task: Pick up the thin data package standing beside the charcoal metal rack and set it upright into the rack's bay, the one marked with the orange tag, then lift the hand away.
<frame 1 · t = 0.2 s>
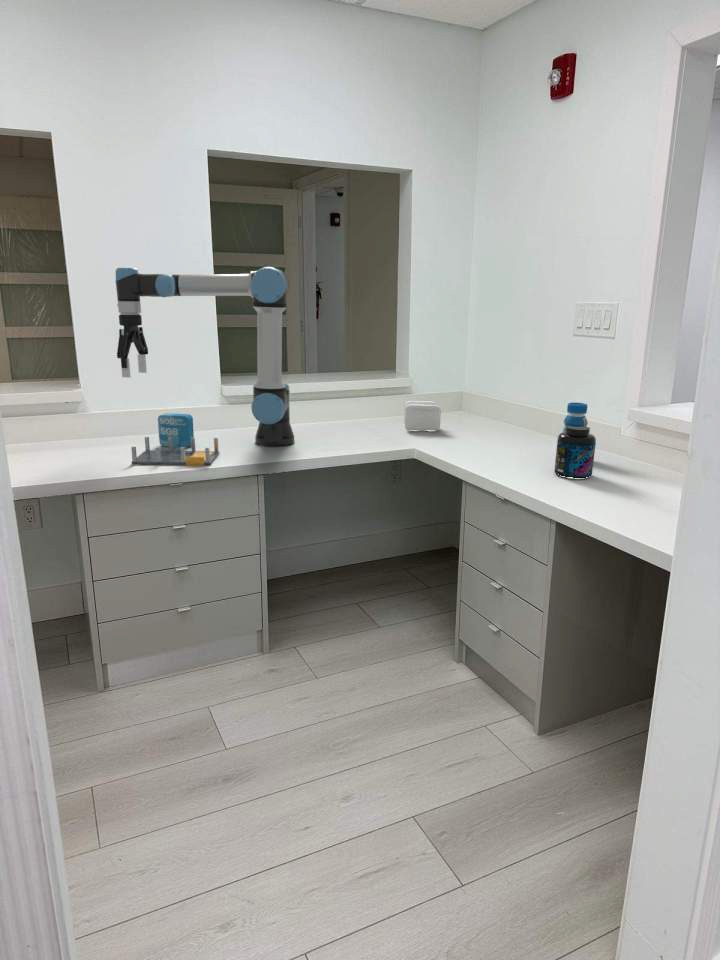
hand: (134, 374, 240), 27 cm above the table, tool pointing down, fingers open, 13 cm apart
beverage bottle: (571, 458, 243), on the table
data package: (177, 446, 252), on the table
panel rack: (177, 459, 233), on the table
cable organizer: (421, 430, 288), on the table
container: (572, 476, 221), on the table
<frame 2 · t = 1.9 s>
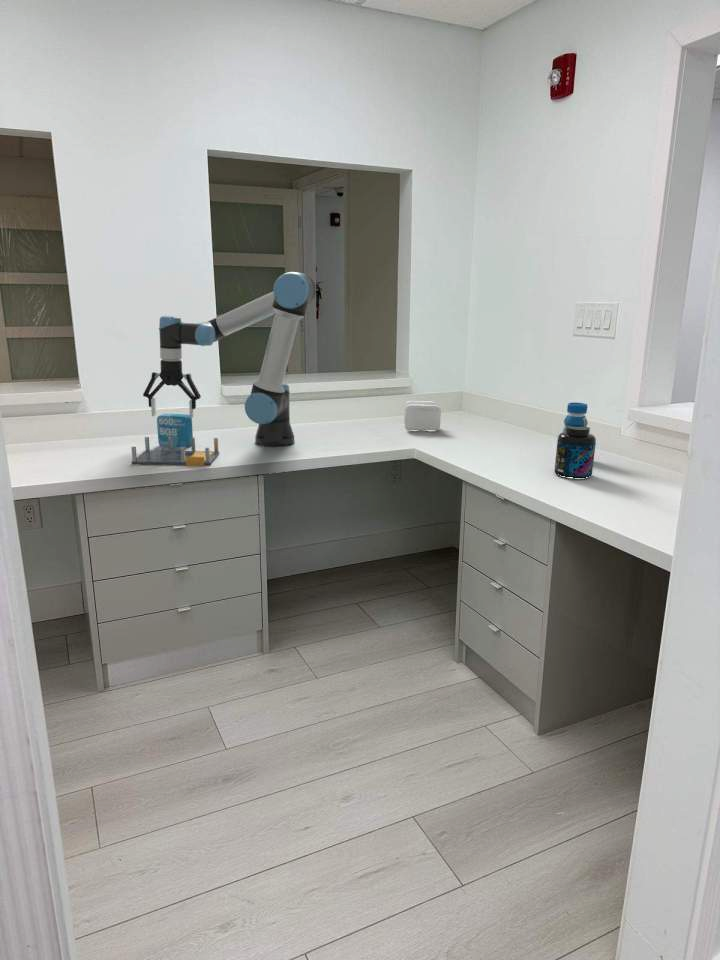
hand: (172, 417, 249), 11 cm above the table, tool pointing down, fingers open, 13 cm apart
data package: (176, 446, 253), on the table, touching gripper
everything else where it was.
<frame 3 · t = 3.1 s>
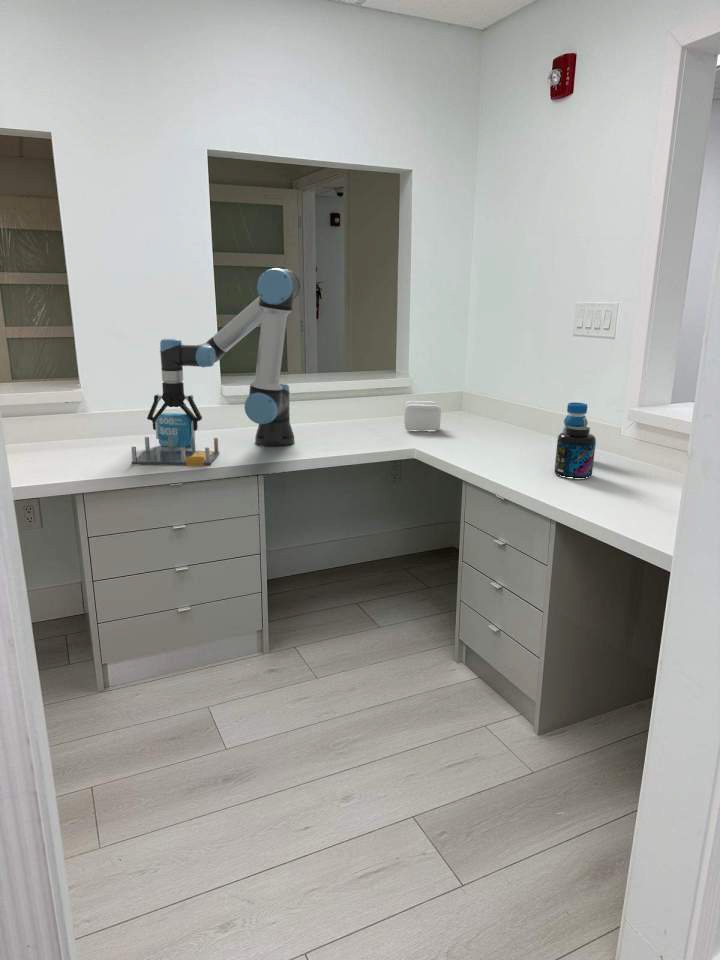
hand: (175, 438, 252), 3 cm above the table, tool pointing down, fingers closed on data package, 12 cm apart
data package: (176, 446, 253), on the table, touching gripper
everything else where it was.
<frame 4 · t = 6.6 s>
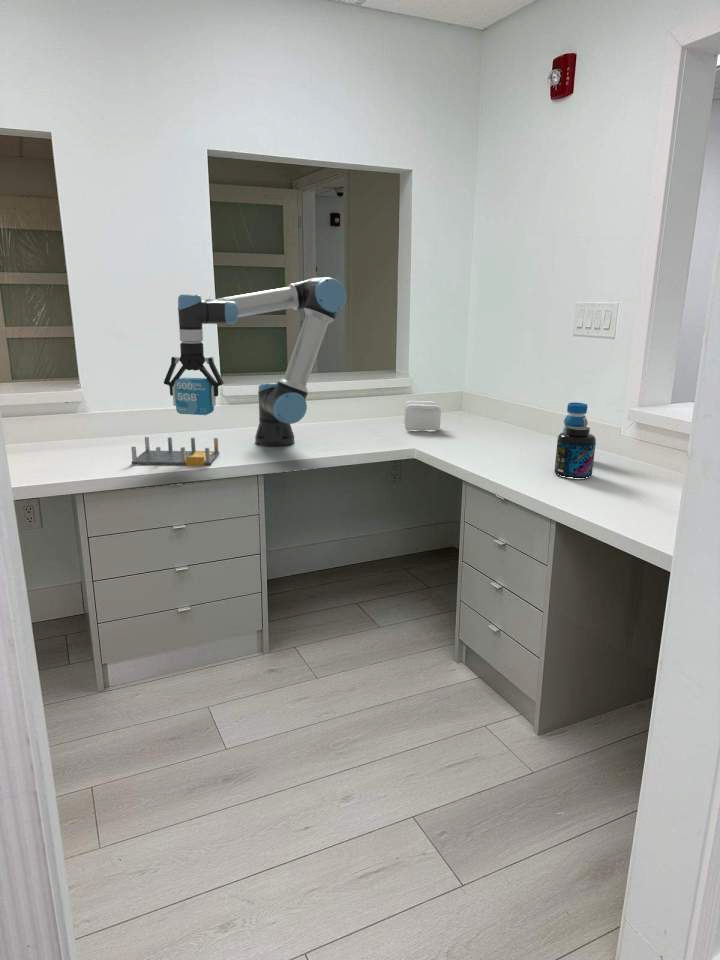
hand: (194, 405, 230), 19 cm above the table, tool pointing down, fingers closed on data package, 12 cm apart
data package: (195, 414, 231), point 16 cm above the table, touching gripper
everything else where it was.
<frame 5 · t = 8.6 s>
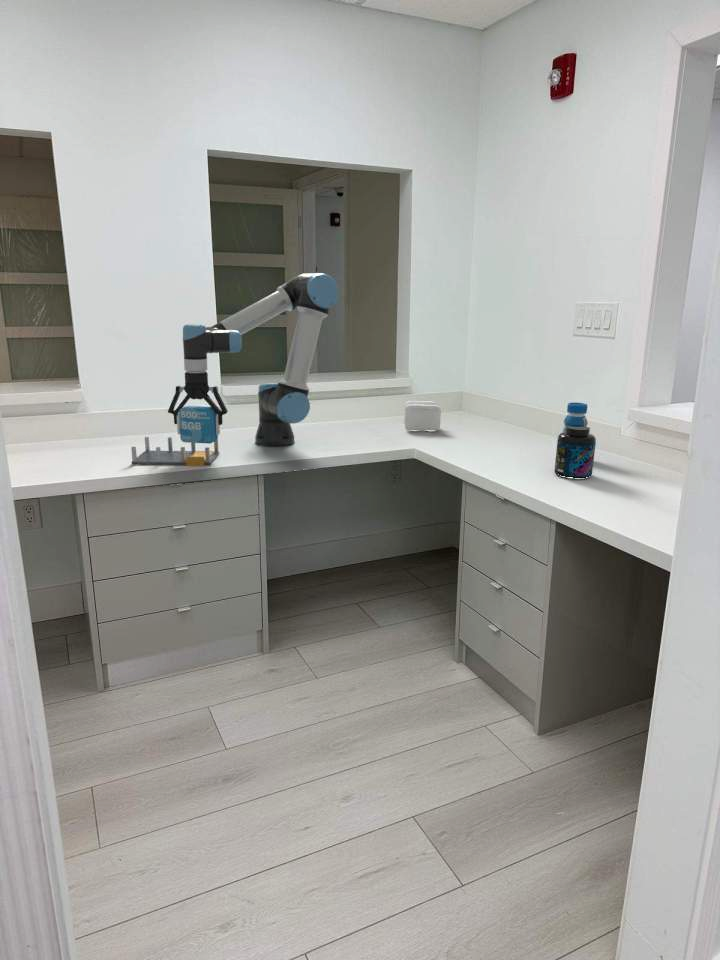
hand: (198, 433, 231), 9 cm above the table, tool pointing down, fingers closed on data package, 12 cm apart
data package: (199, 442, 232), point 6 cm above the table, touching gripper
everything else where it was.
when the fingers open (5 cm above the table, at t = 10.1 s): data package stays where it is, resting on panel rack.
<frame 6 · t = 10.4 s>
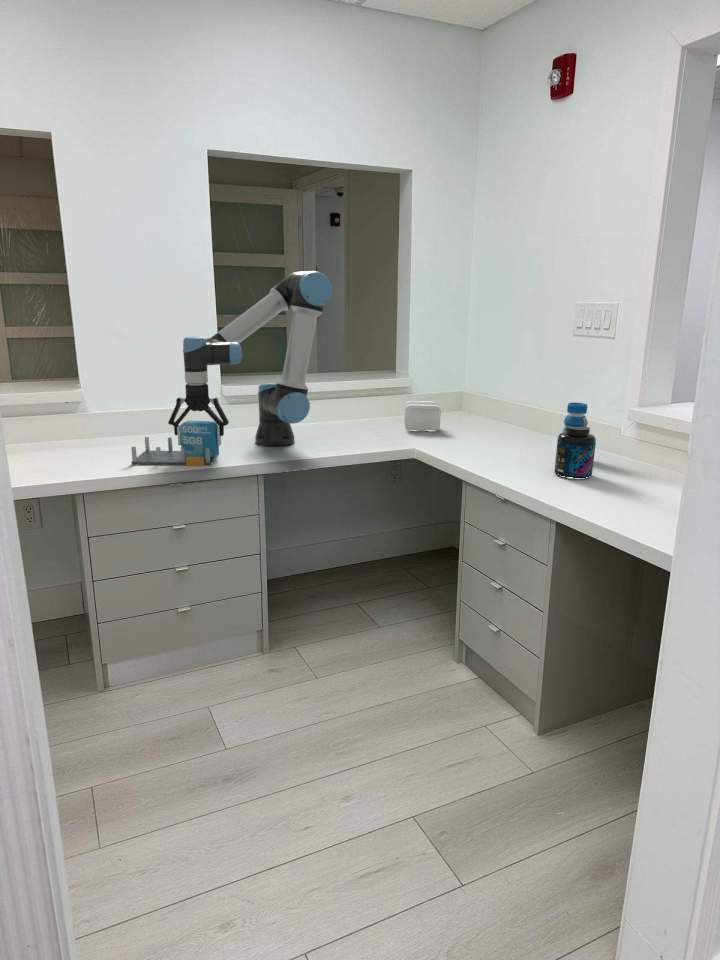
hand: (199, 444, 232), 5 cm above the table, tool pointing down, fingers open, 13 cm apart
data package: (200, 456, 233), point 1 cm above the table, touching panel rack
everything else where it was.
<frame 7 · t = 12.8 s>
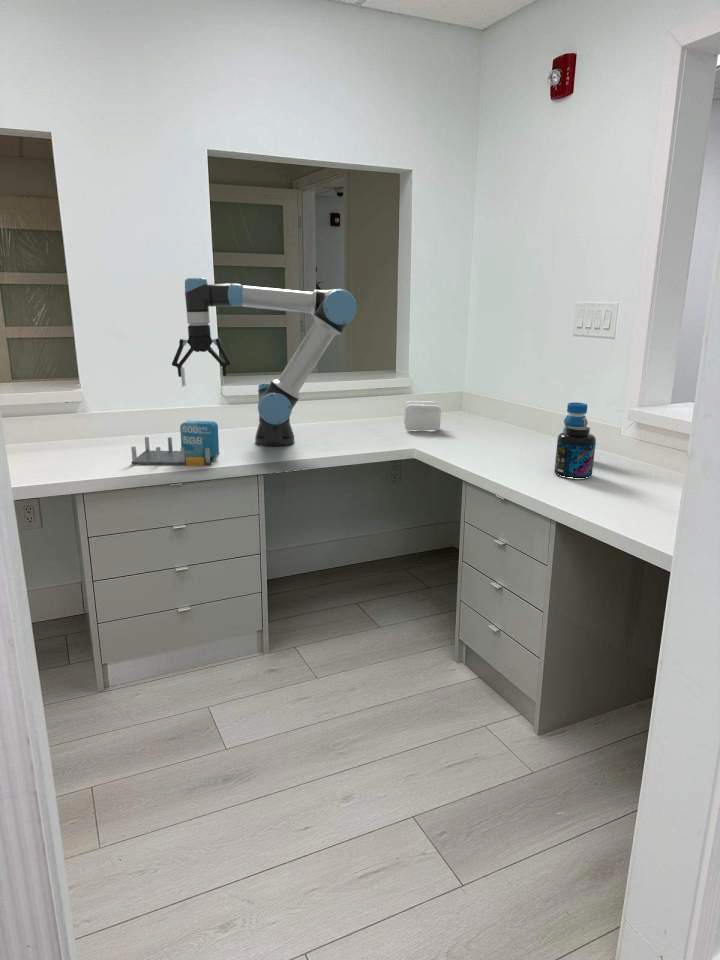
hand: (203, 385, 238), 24 cm above the table, tool pointing down, fingers open, 13 cm apart
nothing on the table moved.
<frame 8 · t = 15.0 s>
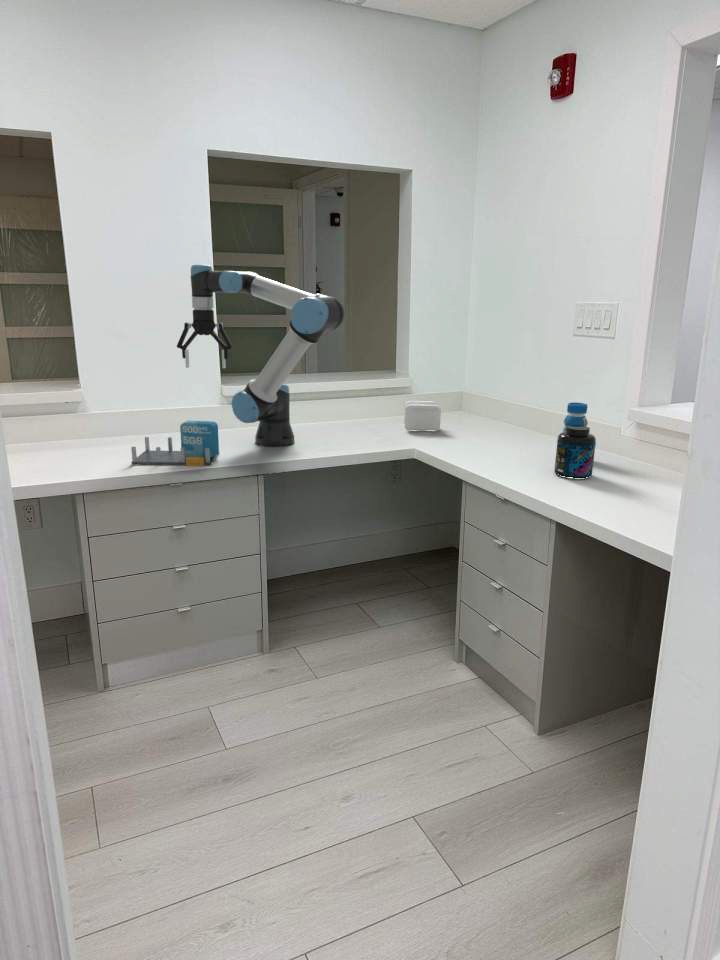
hand: (205, 367, 250), 29 cm above the table, tool pointing down, fingers open, 13 cm apart
nothing on the table moved.
at the end: data package 0.1 cm from the target spot on the panel rack, point 1.0 cm above the panel rack's base; data package tilted 0°; the gripper is holding nothing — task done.
